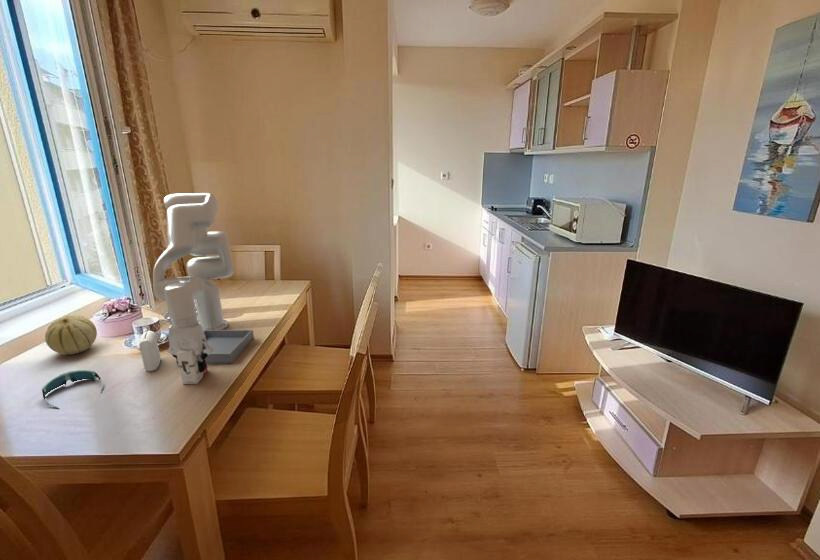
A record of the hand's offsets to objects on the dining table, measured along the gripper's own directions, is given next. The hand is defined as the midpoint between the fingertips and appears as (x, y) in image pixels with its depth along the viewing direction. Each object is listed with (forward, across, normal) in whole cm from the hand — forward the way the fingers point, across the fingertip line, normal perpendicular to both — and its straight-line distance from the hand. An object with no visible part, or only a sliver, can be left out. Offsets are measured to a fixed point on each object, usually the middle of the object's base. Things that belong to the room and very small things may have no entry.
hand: (194, 369), depth 129 cm
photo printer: (+3, -20, +8) cm, 22 cm away
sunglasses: (+4, -34, -9) cm, 35 cm away
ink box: (+3, 0, 0) cm, 3 cm away
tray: (+3, -2, +19) cm, 19 cm away
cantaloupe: (+3, -56, +17) cm, 59 cm away
